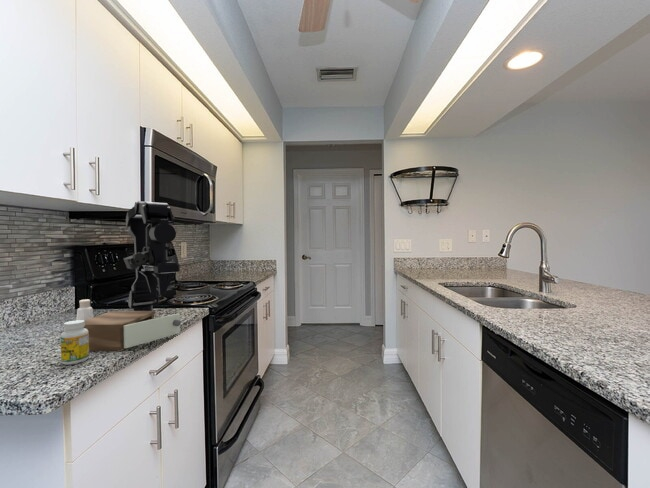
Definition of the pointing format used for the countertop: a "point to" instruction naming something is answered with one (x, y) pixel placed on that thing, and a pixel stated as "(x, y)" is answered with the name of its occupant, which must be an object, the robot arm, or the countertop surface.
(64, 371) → the countertop surface
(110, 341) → the cabinet
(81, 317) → the salt shaker
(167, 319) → the side door
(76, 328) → the supplement bottle
